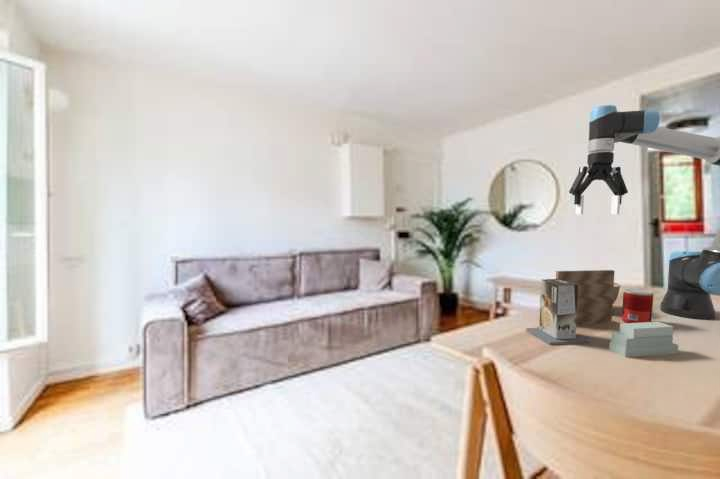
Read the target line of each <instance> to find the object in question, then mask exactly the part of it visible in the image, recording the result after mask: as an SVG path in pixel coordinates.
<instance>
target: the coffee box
mask: <svg viewBox="0 0 720 479" xmlns="http://www.w3.org/2000/svg"><path fill="white" fill-rule="evenodd" d="M577 299H578V285H577V284H574V283H570V282H567V281H564V280H560V279H556V278H548V279H546V278H545V279H540V298H539V300H540V301H539V302H540V303H539V322H538V323H539V326H538V328H539V330H541V331H543V332H545V333H546V334H548V335H550V336H552V337H554V338H555V339H575V338H576V334H577V324H576V321H577Z"/></svg>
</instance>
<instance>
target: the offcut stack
mask: <svg viewBox="0 0 720 479" xmlns="http://www.w3.org/2000/svg"><path fill="white" fill-rule="evenodd" d="M673 335H674V325H669V324H667V323H663V322H659V321H651V322H643V323H625V322H623V323H620V324H619V332H611V336H610V337H611V338H610V341H609V344H608V345H609V347H608V350H609V351H611V352H613V353H615V354H617V355H620V356H622V357H625V358H631V357H632V358H633V357H646V356H647V357H648V356H662V355H676V354H679V345H678V344H676V343H674V342H673V340H674V336H673Z"/></svg>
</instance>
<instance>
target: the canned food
mask: <svg viewBox="0 0 720 479" xmlns="http://www.w3.org/2000/svg"><path fill="white" fill-rule="evenodd" d="M653 303H654V291H651V290H647V289H641V288H624V289H623V294H622V306H621V307H622V310H621V319H622V322H623V323H643V322H652V320H653V305H654V304H653Z"/></svg>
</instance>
